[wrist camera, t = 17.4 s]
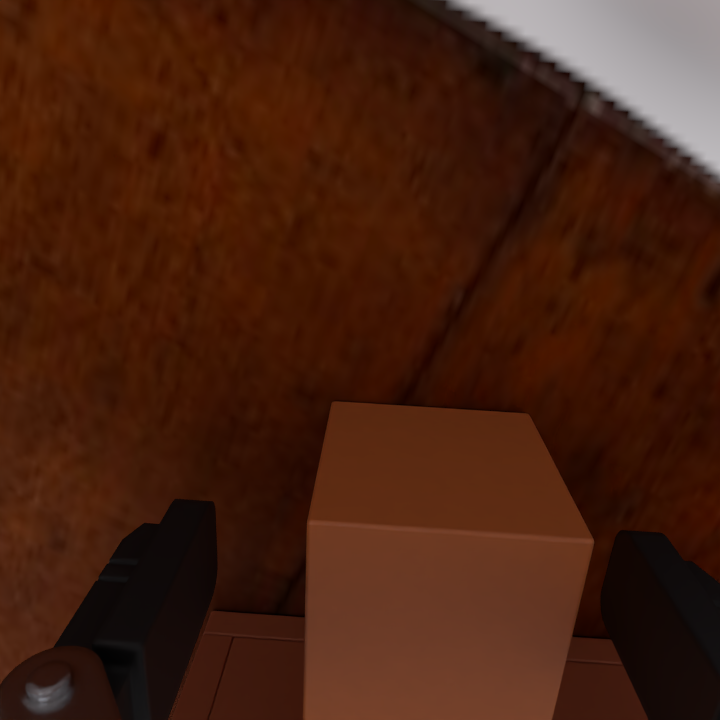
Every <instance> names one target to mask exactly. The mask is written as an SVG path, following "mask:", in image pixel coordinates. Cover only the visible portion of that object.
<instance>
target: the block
mask: <svg viewBox="0 0 720 720" xmlns="http://www.w3.org/2000/svg"><path fill="white" fill-rule="evenodd" d="M593 546H594V539H593V537H592V535H591V533H590V532H589V530H588V528H587V526H586V524H585V522H584V520H583V518H582V516H581V514H580V512H579V510H578V508H577V506H576V504H575V502H574V500H573V499H572V497H571V495H570V493H569V491H568V489H567V487H566V485H565V483H564V481H563V479H562V477H561V475H560V473H559V471H558V469H557V467H556V466H555V464H554V462H553V460H552V458H551V456H550V454H549V452H548V450H547V448H546V446H545V444H544V442H543V440H542V438H541V436H540V434H539V432H538V431H537V429H536V427H535V425H534V423H533V421H532V419H531V417H530V415H529V414H527V413H512V412H497V411H481V410H465V409H450V408H434V407H418V406H403V405H387V404H372V403H356V402H340V401H334V402H332V404H331V408H330V413H329V418H328V423H327V428H326V432H325V437H324V442H323V447H322V452H321V456H320V461H319V466H318V471H317V476H316V480H315V485H314V490H313V495H312V500H311V504H310V509H309V514H308V519H307V535H306V584H305V634H304V683H303V720H552V718H553V714H554V709H555V705H556V701H557V697H558V693H559V688H560V684H561V680H562V676H563V672H564V667H565V663H566V659H567V655H568V651H569V647H570V642H571V638H572V634H573V630H574V626H575V621H576V617H577V613H578V609H579V605H580V601H581V596H582V592H583V588H584V584H585V580H586V575H587V571H588V567H589V563H590V559H591V555H592V550H593Z"/></svg>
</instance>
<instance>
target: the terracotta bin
mask: <svg viewBox="0 0 720 720" xmlns="http://www.w3.org/2000/svg"><path fill="white" fill-rule="evenodd" d="M304 634H305V617H293V616H279V615H266V614H252V613H238V612H224V611H212V612H211V614H210V617H209V619H208V622H207V625H206V627H205V630H204V633H203V635H202V638H201V640H200V643H199V646H198V648H197V651H196V654H195V657H194V659H193V662H192V665H191V667H190V670H189V673H188V675H187V678H186V681H185V683H184V686H183V689H182V692H181V694H180V697H179V700H178V702H177V705H176V708H175V710H174V713H173V716H172V718H171V720H303V683H304ZM552 720H648V718H647V715H646V713H645V711H644V709H643V707H642V705H641V702H640V700H639V698H638V696H637V694H636V692H635V690H634V687H633V685H632V683H631V681H630V679H629V677H628V674H627V672H626V670H625V668H624V666H623V664H622V661H621V659H620V657H619V655H618V653H617V651H616V648H615V646H614V644H613V642H612V640H611V639H597V638H583V637H572V638H571V642H570V647H569V651H568V655H567V659H566V663H565V667H564V672H563V676H562V680H561V684H560V688H559V693H558V697H557V701H556V705H555V709H554V714H553V718H552Z"/></svg>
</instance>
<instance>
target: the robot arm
mask: <svg viewBox="0 0 720 720" xmlns="http://www.w3.org/2000/svg"><path fill="white" fill-rule="evenodd" d="M216 578H217V537H216V512H215V505H214V502H213V501H199V500H184V499H175V500H174V501H173V502H172V503H171V505H170V507H169V509H168V510H167V512H166V514H165V516H164V517H163V519H162V521H161V523H160V524H150V523H144V524H142V525H141V526H140V527H138V528H137V529H136V530H134V531H133V532H132V533H131V534H129V535H128V536H127V537H125V538H124V539H123V540H122V541H121V543H120V544H119V546H118V547H117V549H116V551H115V552H114V554H113V555H112V557H111V558H110V561H109V564H107V565H106V566H105V568H104V569H103V571H102V572H101V574H100V575H99V579H98V581H96V582H95V583H94V585H93V586H92V588H91V590H90V591H89V593H88V594H87V596H86V597H85V599H84V600H83V602H82V604H81V605H80V607H79V608H78V610H77V611H76V613H75V614H74V616H73V618H72V619H71V621H70V622H69V624H68V625H67V627H66V629H65V630H64V632H63V633H62V635H61V636H60V638H59V639H58V641H57V643H56V644H55V646H54V647H53V648H51V649H48V650H45V651H42V652H40V653H38V654H35V655H33V656H32V657H30V658H28V659H26V660H25V661H23V662H22V663H21V664H19V665H18V666H17V667H15V668H14V669H13V670H12V671H11V672H10V673H9V674H8V675H7V676H6V678H5V679H4V680H3V681H2V683H1V684H0V720H168V717H169V714H170V712H171V709H172V706H173V703H174V701H175V698H176V695H177V692H178V690H179V687H180V684H181V681H182V679H183V676H184V673H185V671H186V668H187V665H188V662H189V660H190V657H191V654H192V651H193V649H194V646H195V643H196V640H197V638H198V635H199V632H200V629H201V627H202V624H203V621H204V618H205V616H206V613H207V610H208V608H209V605H210V602H211V599H212V596H213V593H214V589H215V584H216ZM601 613H602V618H603V621H604V624H605V627H606V629H607V631H608V633H609V636H610V638H611V640H612V642H613V644H614V646H615V648H616V651H617V653H618V655H619V657H620V659H621V661H622V664H623V666H624V668H625V670H626V672H627V674H628V677H629V679H630V681H631V683H632V685H633V687H634V690H635V692H636V694H637V696H638V698H639V700H640V702H641V705H642V707H643V709H644V711H645V713H646V715H647V718H648V720H720V584H719V583H718V582H717V581H716V580H715V579H714V578H712V577H711V576H710V575H708V574H707V573H706V572H705V571H703V570H702V569H701V568H700V567H698V566H697V565H696V564H694V563H693V562H691V561H684V560H683V559H682V558H681V556H680V555H679V553H678V552H677V551H676V549H675V548H674V546H673V545H672V544H671V542H670V541H669V540H668V538H667V537H666V536H665V535H664V534H662V533H656V532H642V531H627V530H622V531H620V532H619V533H618V534H617V536H616V538H615V541H614V545H613V549H612V553H611V556H610V560H609V564H608V568H607V572H606V575H605V579H604V583H603V587H602V591H601Z"/></svg>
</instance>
